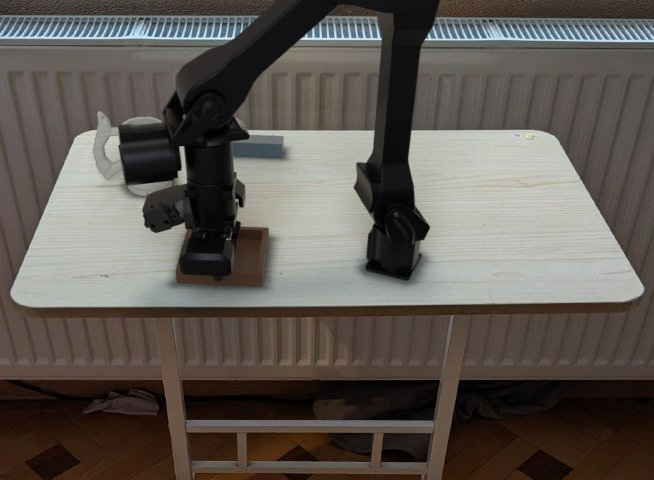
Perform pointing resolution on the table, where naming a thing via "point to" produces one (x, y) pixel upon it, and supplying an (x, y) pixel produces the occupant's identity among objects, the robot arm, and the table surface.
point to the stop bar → (260, 146)
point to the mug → (112, 168)
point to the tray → (238, 260)
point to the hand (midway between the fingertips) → (218, 280)
